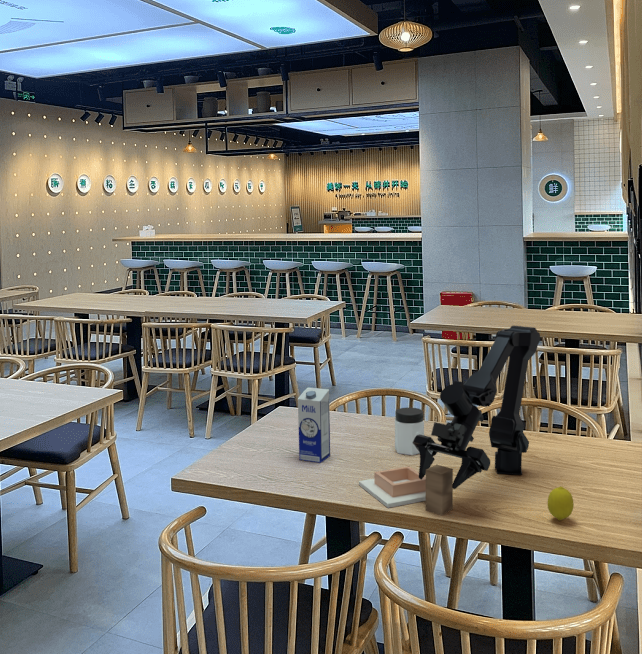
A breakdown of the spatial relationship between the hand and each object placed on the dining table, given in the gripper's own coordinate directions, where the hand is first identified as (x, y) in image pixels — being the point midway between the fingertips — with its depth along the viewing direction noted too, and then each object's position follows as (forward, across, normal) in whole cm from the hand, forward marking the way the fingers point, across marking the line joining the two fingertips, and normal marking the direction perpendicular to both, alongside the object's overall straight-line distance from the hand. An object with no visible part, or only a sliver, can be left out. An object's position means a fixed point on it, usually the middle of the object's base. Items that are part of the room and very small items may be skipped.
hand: (436, 483), depth 164 cm
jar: (-17, -30, +27) cm, 44 cm away
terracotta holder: (+2, -14, +8) cm, 16 cm away
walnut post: (+4, 0, +6) cm, 7 cm away
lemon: (-5, +24, +15) cm, 29 cm away
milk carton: (-1, -47, +11) cm, 48 cm away
